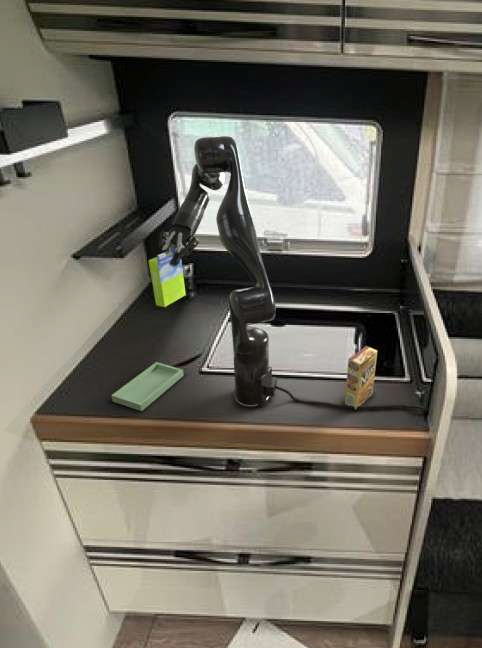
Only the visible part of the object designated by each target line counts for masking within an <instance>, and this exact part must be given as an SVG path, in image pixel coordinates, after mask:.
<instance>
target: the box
mask: <svg viewBox="0 0 482 648" xmlns="http://www.w3.org/2000/svg"><path fill="white" fill-rule="evenodd" d="M175 253H177V247H175V248H173V249H172V250H170V251H167V252H165V253H162V254H161V253H160V254H158V255H157V254H156V257H153V258H151V259H149V260H148V265H149V272H150V278H151V283H152V290H153V295H154V301H155V306H157V307H163V308H167V307H168V306H169V305H172V304H173V303H175V302H176V301H179V300H180V299H182V298H183V297H185V296H187V292H186V287H185V286H186V285H185V279H184V270H183V262H182V261H183V260H182V259H181V260H180V262H179V264H178V265H177V266H173V265H172V264H171V261H172V259H173V257H174V255H175Z"/></svg>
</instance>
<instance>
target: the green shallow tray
mask: <svg viewBox="0 0 482 648" xmlns="http://www.w3.org/2000/svg"><path fill="white" fill-rule="evenodd" d="M184 373H185V372H184V369H181V368H179V367H175V366H171V365H168V364H164V363H162V362H158V361H156V362H155V363H153V364H152V365H150V366H149V367H147V368H146V369H144V371H142V372H140V374H138V375H136V377H134V378H132V379H131V380H130V381H129V382H127V383H125V384H124V385H123V386H122V387H121V388H119V389H117V391H115V392H113V393H112V394H111V401H112V402H113V403H116V404H119V405H121V406H125V407H128V408H131V409H133V410H135V411H136V410H137V411H139V412H143V411H144V410H145V409H146V408H148V407H149V406H150V405H151V404H152V403H153V402H155V401H156V400H157V399H158V398H159V397H160V396H161V395H163V394H164V393H165V392H166V391H167V390H169V388H171V387H172V386H173V385H174V384H176V383H177V382H178V381H179V380H180V379H182V378H183V377H184Z"/></svg>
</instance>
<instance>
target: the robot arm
mask: <svg viewBox="0 0 482 648" xmlns="http://www.w3.org/2000/svg"><path fill="white" fill-rule="evenodd" d="M193 150H194V158H195V159H194V160H195V164H194V165H193V167H192V171H191V178H190V179H191V181H190V186H189V189H188V192H187V194H186V196H185V198H184V200H183V202H182V203H181V205H180V207H179V208H178V211H177V213H176V215H175V216H174V219H173V221H172V225H171V226H172V227H171V229H169V231H167V232H165V231H163V230H162V231H160V233H159V239H158V245H157V246H158V248H159V249H160V250H161V253H160V254H162V253H165V252H167V251H170V250H172V249H175V248H177V253H175V255H174V257H173V259H172V261H171V264H172V265H173V266H177V265H178V264H179V262H180V260H182V257H184V256H190V255H191V253H192V252H193V251H194V250H195V249H196V247H197V246H198V245H199V244H200V240H199V239H198V238H196V236H194V235H196V233H197V231H198V229H199V227H200V224H201V222H202V220H203V218H204V216H205V215H204V214H205V211H206V209H207V207H208V205H209V202H210V200H211V195H210V193H209V192H208V191H207V190H206V189H204V188H203V187H202V186H204V187H205V188H207V189H209V190H212V191H219V190H220V189H221V188H223V185H224V183H225V173H228V174H229V182H228V186H227V189H226V192H225V194H224V197H223V198H222V201H221V203H220V205H219V207H218V209H217V212H216V218H215V221H216V227H217V231H218V235H219V239H220V242H221V244H222V246H223V248H225V250H226V251H227V253H229V254H230V255H231V256H232V257H233V258H234V260H235V261H237V262H238V263H239V264H240V265H241V266H242V268H243V269H244V270H245V271H246V273H247V274H248V276H249V278H250V280H251V282H252V285H253V287H246V288H240V289H235V290H232V291H231V292H230V294H229V297H228V308H229V316H230V323H231V324H230V325H231V326H230V327H231V338H232V351H233V353H232V354H233V355H232V356H233V373H234V374H233V375H234V398H235V399H234V400H235V402H236V403H237V404H238V405H239V406H241V407H243V408H250V409H251V408H263V406H265V404H266V403H267V402H268V401H269V399H270V398H271V397H274V396H275V394H276V390H278V391H281V392H284V393H286V394H287V395H288V396H289V397H290V398H291V399H292V400H293V401H294V402H298V403H301V404H308V405H320V406H321V405H322V406H328V407H333V408H334V407H335V408H341V409H352V410H353V409H354V410H355V408H354V407H353V406H348V405H346V404H338V403H333V402H332V403H331V402H325V401H315V400H303V399H301V398H300V399H299V398H297V397H295V396H294V395H293V394H292V393H291V391H289V390H288V389H286V388H284V387H281V386H278V377H275V376H273V367H272V366H270V338H269V334H268V333H267V331H266V330H264V329H263V328H259V327H256V326H253V325H257V324H261V323H262V324H263V323H265V322H271V321H272V320H274V319H275V318H276V313H277V309H276V308H277V307H276V301H275V297H274V294H273V290H272V287H271V283H270V280H269V278H268V274H267V271H266V268H265V265H264V262H263V258H262V253H261V250H260V245H259V241H258V240H259V239H258V235H257V231H256V226H255V222H254V218H253V214H252V212H251V211H252V210H251V206H250V204H249V200H248V197H247V192H246V188H245V182H244V176H243V171H242V165H241V160H240V159H241V158H240V154H239V150H238V146H237V143H236V141H235V139H234V138H233V137H231V136H227V135H225V136H223V135H221V136H206V137H200V138H198V139H197V140H195V142H194V146H193ZM387 408H388V409H389V408H409V409H418V410H421V411H424V412H425V413H427V412H426V410H424V408H425V407H424V406H422V405H414V404H413V405H412V404H401V403H400V404H398V403H397V404H382V405H381V404H379V405H361V406H358V407H357V409H356V410H365V409H387Z"/></svg>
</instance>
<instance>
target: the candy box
mask: <svg viewBox="0 0 482 648" xmlns="http://www.w3.org/2000/svg"><path fill="white" fill-rule="evenodd" d="M377 358H378V350H377V349H375V348H372V347H370V346H368V345H365V346H364V347H363V348H361V349H360V350H358V351H357V352H356V353H355V354H353V355H352V356H351V357H349V358H348V360H347V361H348V362H347V372H346V373H347V374H346V384H345V385H346V387H345V397H344V405H347V406H353V407H354V408H355V409H354V410H358V409H357V407H358V406H363V404H364V403H365V402H366V401H367V400H368V399H369V398H370V397H372V395H373V392H374V385H375V384H374V383H375V376H376V375H375V374H376V366H377Z"/></svg>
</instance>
